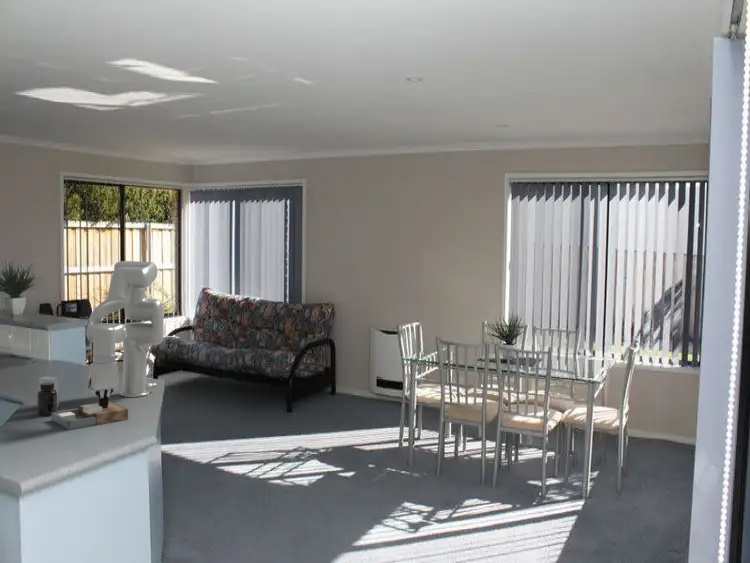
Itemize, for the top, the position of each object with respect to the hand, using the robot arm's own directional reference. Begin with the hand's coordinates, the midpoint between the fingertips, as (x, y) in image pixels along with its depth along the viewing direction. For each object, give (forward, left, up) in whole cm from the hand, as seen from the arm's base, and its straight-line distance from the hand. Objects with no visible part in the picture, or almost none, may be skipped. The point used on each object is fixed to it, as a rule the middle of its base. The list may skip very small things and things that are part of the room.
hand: (103, 407), depth 246 cm
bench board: (-2, -4, -5) cm, 7 cm away
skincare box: (+8, -32, -5) cm, 34 cm away
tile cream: (+11, -8, -3) cm, 14 cm away
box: (+9, -4, -5) cm, 11 cm away
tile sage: (+4, 0, -1) cm, 4 cm away
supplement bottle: (+12, -22, -5) cm, 26 cm away
